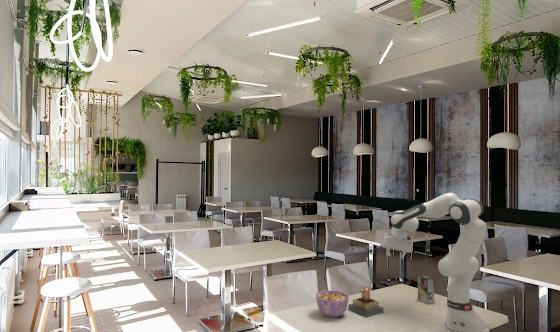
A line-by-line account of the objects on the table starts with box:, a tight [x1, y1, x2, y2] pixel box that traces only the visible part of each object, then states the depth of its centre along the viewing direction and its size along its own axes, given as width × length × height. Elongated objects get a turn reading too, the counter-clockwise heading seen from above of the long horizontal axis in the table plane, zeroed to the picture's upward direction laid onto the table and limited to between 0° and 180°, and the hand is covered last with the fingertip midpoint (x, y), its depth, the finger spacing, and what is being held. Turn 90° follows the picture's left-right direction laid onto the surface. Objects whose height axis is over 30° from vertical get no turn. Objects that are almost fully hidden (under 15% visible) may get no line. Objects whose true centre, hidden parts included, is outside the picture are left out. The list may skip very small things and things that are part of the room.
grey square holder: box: [347, 297, 384, 318], centre depth 238 cm, size 15×15×6 cm
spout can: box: [359, 286, 371, 304], centre depth 237 cm, size 5×7×11 cm
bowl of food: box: [315, 289, 350, 318], centre depth 231 cm, size 20×20×12 cm
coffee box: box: [417, 274, 435, 305], centre depth 256 cm, size 9×6×16 cm
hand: (395, 257), depth 245 cm, fingers open, 8 cm apart
